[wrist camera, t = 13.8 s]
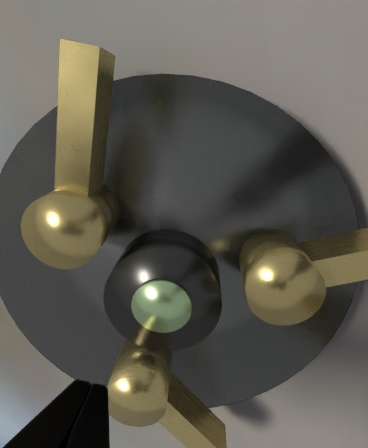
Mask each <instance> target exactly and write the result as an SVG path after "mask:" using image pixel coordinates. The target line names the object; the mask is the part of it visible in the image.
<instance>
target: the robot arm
mask: <svg viewBox="0 0 368 448" xmlns="http://www.w3.org/2000/svg"><path fill="white" fill-rule="evenodd" d="M3 448H110V444H109V407H108V387H107V386H106V385H101V384H97V383H93V384H92V385H91V382H89V381H84V380H80V379H77V380H75V381H73V382H72V383H71V384H70V385H69V386H68V387H67V388H66V389H65V390H64V391H63V392H61V393H60V394H59V395H58V396H57V397H56V398H55V399H54V400H53V401H52V402H51V403H50V404H49V405H48V406H46V407H45V408H44V409H43V410H42V411H41V412H40V413H39V414H38V415H37V416H36V417H35V418H34V419H33V420H32V421H30V422H29V423H28V424H27V425H26V426H25V427H24V428H23V429H22V430H21V431H20V432H19V433H18V434H17V435H16V436H14V437H13V438H12V439H11V440H10V441H9V442H8V443H7V444H6V445H5V446H4V447H3Z"/></svg>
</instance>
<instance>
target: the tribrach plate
mask: <svg viewBox="0 0 368 448" xmlns="http://www.w3.org/2000/svg"><path fill="white" fill-rule="evenodd" d="M57 110H58V106H57V107H55V108H54V109H53V110H51V111H50V112H49V113H48V114H46V115H45V116H44V117H43V118H42V119H40V120H39V121H38V122H37V123H36V124H34V126H33V127H32V128H31V129H30V130H29V131H28V132H27V133H26V135H25V136H24V137H23V138H22V139H21V140H20V141H19V143H18V144H17V145H16V147H15V149H14V150H13V152H12V153H11V155H10V156H9V158H8V160H7V161H6V163H5V164H4V167H3V169H2V171H1V174H0V295H1V298H2V300H3V302H4V304H5V306H6V308H7V310H8V312H9V313H10V315H11V317H12V318H13V320H14V321H15V323H16V325H17V326H18V328H19V329H20V330H21V331H22V333H23V334H24V335H25V336H26V338H27V339H28V340H29V341H30V343H31V344H32V345H33V346H34V347H35V348H36V349H37V350H38V351H39V352H40V353H41V354H42V355H43V356H44V357H45V358H46V359H48V360H49V361H50V362H51V363H53V364H54V365H55V366H56V367H57V368H59V369H60V370H61V371H63V372H64V373H66V374H67V375H69V376H70V377H72V378H74V379H75V380H77V379H80V380H84V381H89V382H91V385H92V384H93V383H97V384H101V385H106V386H108V383H109V380H110V377H111V374H112V371H113V368H114V366H115V363H116V360H117V357H118V354H119V351H120V349H121V346H122V344H123V343H124V342H125V341H126V340H127V339H128V340H129V341H131V342H133V343H135V344H137V345H139V346H141V347H144V348H147V349H151V350H156V351H171V352H172V356H173V360H172V367H171V372H172V373H173V374H174V375H175V376H176V377H177V378H178V379H179V380H180V381H181V382H182V383H183V384H184V385H185V386H186V387H187V388H188V389H189V390H190V391H191V392H192V393H193V394H194V395H195V396H196V397H197V398H198V399H199V400H200V401H201V402H202V403H203V404H204V405H205V406H206V407H207V408H212V407H218V406H223V405H228V404H232V403H236V402H239V401H242V400H246V399H249V398H252V397H254V396H257V395H259V394H261V393H264V392H266V391H268V390H270V389H272V388H274V387H276V386H278V385H279V384H281V383H283V382H285V381H286V380H288V379H289V378H291V377H292V376H293V375H295V374H296V373H298V372H299V371H300V370H302V369H303V368H304V367H305V366H306V365H307V364H309V363H310V362H311V361H312V360H313V359H314V358H315V357H316V356H317V355H318V354H319V353H320V352H321V351H322V349H323V348H324V347H325V346H326V345H327V344H328V342H329V341H330V340H331V339H332V337H333V335H334V334H335V332H336V331H337V329H338V328H339V326H340V325H341V323H342V321H343V319H344V317H345V315H346V313H347V311H348V308H349V306H350V304H351V301H352V298H353V295H354V291H355V288H356V285H357V282H352V283H347V284H341V285H336V286H331V287H326V296H325V299H324V302H323V304H322V306H321V307H320V309H319V310H318V311H317V312H316V313H315V314H314V315H313V316H311V317H310V318H308V319H307V320H305V321H303V322H300V323H297V324H293V325H283V326H282V325H274V324H270V323H267V322H265V321H263V320H261V319H260V318H258V317H257V316H256V315H255V314H254V313H253V312H252V310H251V309H250V307H249V305H248V302H247V297H246V293H245V288H244V284H243V279H242V275H241V270H240V266H239V253H240V250H241V248H242V246H243V244H244V243H245V241H246V240H247V239H248V238H249V237H251V236H252V235H254V234H255V233H257V232H260V231H263V230H268V229H278V230H282V231H285V232H288V233H290V234H291V235H293V236H294V237H295V238H296V239H297V240H298V242H303V241H308V240H312V239H317V238H322V237H327V236H331V235H336V234H341V233H345V232H350V231H355V230H359V226H358V220H357V214H356V210H355V207H354V204H353V201H352V198H351V195H350V192H349V189H348V187H347V185H346V183H345V181H344V180H343V178H342V176H341V174H340V172H339V170H338V168H337V166H336V165H335V163H334V162H333V160H332V159H331V158H330V156H329V155H328V154H327V152H326V151H325V149H324V148H323V147H322V145H321V144H320V143H319V142H318V141H317V140H316V139H315V138H314V137H313V136H312V135H311V134H310V133H309V132H308V131H307V130H306V129H305V128H304V127H303V126H302V125H301V124H300V123H299V122H298V121H296V120H295V119H294V118H292V117H291V116H290V115H288V114H287V113H286V112H284V111H283V110H282V109H280V108H279V107H277V106H276V105H274V104H272V103H270V102H268V101H266V100H265V99H263V98H261V97H259V96H257V95H255V94H253V93H252V92H249V91H246V90H244V89H241V88H238V87H235V86H233V85H230V84H227V83H224V82H221V81H216V80H211V79H207V78H202V77H197V76H190V75H174V74H155V75H143V76H132V77H128V78H124V79H120V80H116V81H113V86H112V96H111V106H110V117H109V127H108V137H107V148H106V158H105V168H104V179H103V184H104V185H105V186H107V187H108V188H109V189H110V190H111V191H112V192H113V194H114V195H115V197H116V199H117V201H118V204H119V208H120V217H119V221H118V224H117V226H116V227H115V229H114V230H113V231H112V233H111V234H110V235H109V237H108V238H107V239H106V241H105V242H104V243H103V245H102V246H101V247H100V249H99V250H98V251H97V253H96V254H95V255H94V257H93V258H92V259H91V260H90V261H89V262H88V263H86V264H85V265H83V266H81V267H78V268H75V269H58V268H54V267H51V266H49V265H47V264H45V263H43V262H41V261H40V260H39V259H37V258H36V257H35V256H34V255H33V254H32V253H31V252H30V250H29V249H28V247H27V246H26V244H25V242H24V240H23V237H22V233H21V220H22V216H23V214H24V212H25V210H26V208H27V207H28V206H29V205H30V204H31V203H32V202H34V201H35V200H37V199H39V198H41V197H43V196H44V195H46V194H48V193H50V192H52V191H54V189H55V163H56V136H57Z"/></svg>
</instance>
